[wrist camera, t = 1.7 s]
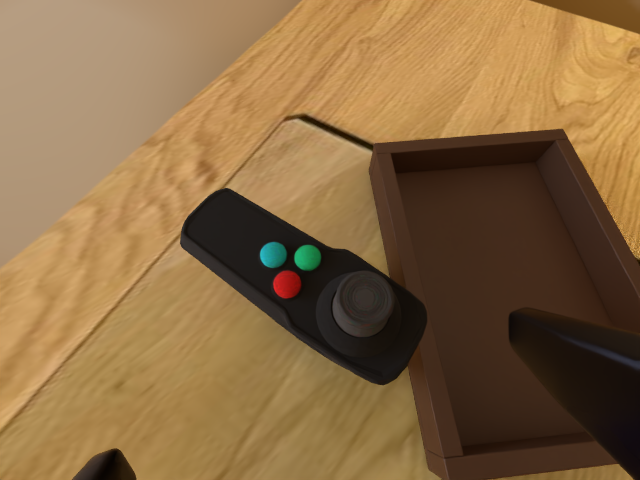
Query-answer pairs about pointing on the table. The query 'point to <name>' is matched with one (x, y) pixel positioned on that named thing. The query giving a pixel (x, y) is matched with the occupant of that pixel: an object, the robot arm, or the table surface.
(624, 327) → the tray
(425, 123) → the table surface
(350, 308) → the controller
